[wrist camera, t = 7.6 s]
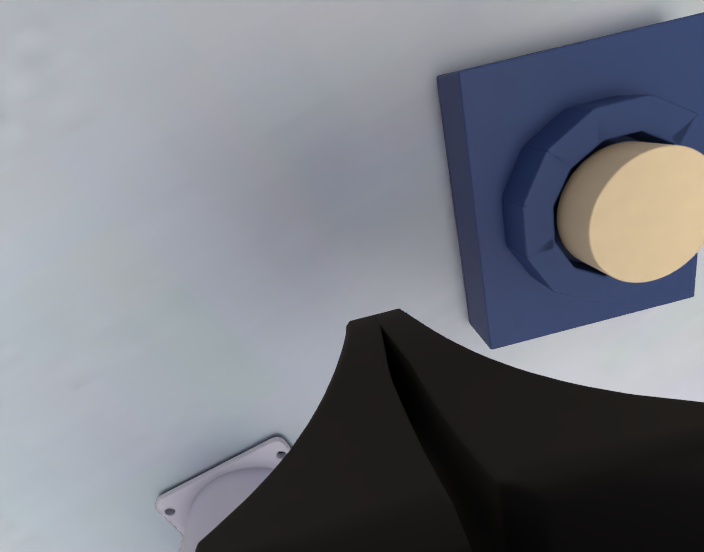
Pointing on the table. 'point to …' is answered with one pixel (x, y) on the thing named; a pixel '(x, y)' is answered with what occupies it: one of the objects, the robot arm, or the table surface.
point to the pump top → (635, 210)
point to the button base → (560, 169)
